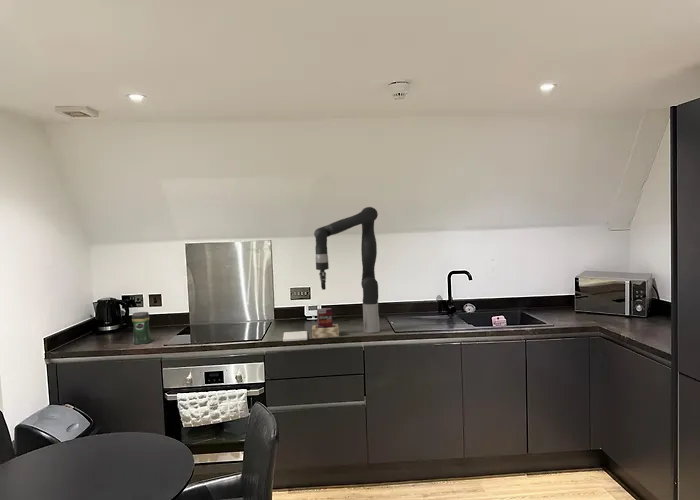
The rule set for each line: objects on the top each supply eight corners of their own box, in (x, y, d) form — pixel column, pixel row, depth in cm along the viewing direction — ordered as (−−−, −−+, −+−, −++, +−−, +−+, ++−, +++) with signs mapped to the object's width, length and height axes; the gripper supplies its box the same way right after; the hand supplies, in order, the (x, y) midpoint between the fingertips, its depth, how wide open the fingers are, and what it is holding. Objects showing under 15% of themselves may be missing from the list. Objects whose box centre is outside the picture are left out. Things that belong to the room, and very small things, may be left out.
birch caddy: (337, 332, 323) (337, 324, 322) (339, 336, 311) (338, 327, 311) (312, 333, 321) (312, 325, 321) (312, 337, 310) (312, 329, 310)
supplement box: (319, 336, 313) (318, 309, 312) (317, 334, 317) (316, 308, 317) (333, 335, 315) (332, 308, 314) (331, 333, 320) (330, 307, 319)
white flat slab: (306, 332, 325) (306, 331, 325) (307, 339, 305) (307, 338, 305) (284, 334, 324) (283, 332, 324) (282, 341, 304) (282, 339, 304)
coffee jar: (152, 341, 320) (150, 310, 319) (149, 343, 312) (147, 312, 311) (135, 342, 319) (133, 311, 318) (132, 345, 311) (130, 313, 310)
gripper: (328, 262, 307) (330, 289, 308) (327, 260, 321) (329, 286, 322) (316, 262, 306) (317, 290, 307) (315, 261, 321) (316, 287, 321)
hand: (323, 288), depth 315 cm, fingers open, 8 cm apart
